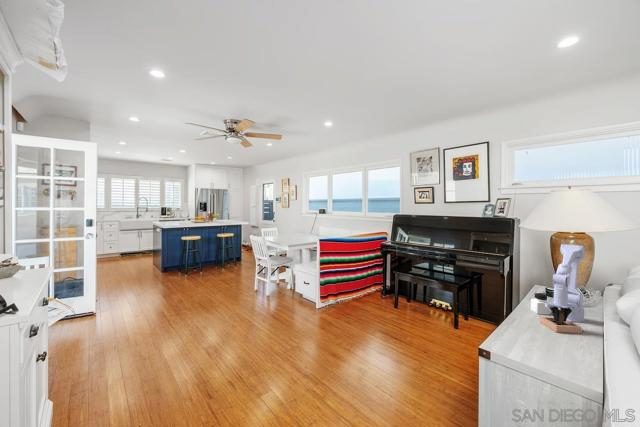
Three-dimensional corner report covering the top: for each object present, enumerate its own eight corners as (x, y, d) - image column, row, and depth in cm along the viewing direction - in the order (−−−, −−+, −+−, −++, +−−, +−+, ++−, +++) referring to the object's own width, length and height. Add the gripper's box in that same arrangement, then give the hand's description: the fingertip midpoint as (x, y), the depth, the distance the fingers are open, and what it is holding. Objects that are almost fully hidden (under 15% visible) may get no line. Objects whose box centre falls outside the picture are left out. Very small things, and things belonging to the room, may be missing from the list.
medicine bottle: (550, 315, 162) (551, 295, 162) (537, 314, 164) (537, 294, 164) (543, 310, 169) (543, 292, 169) (530, 309, 171) (531, 291, 171)
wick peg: (560, 323, 147) (560, 310, 146) (565, 325, 144) (565, 313, 143) (554, 323, 147) (554, 310, 147) (559, 325, 144) (559, 312, 144)
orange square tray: (562, 323, 151) (562, 317, 151) (581, 333, 139) (581, 327, 139) (539, 322, 152) (540, 316, 152) (556, 332, 140) (556, 326, 140)
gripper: (552, 298, 141) (551, 323, 142) (581, 299, 140) (580, 324, 140) (542, 293, 148) (541, 317, 149) (570, 294, 147) (569, 319, 147)
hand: (559, 320), depth 145 cm, fingers closed on wick peg, 3 cm apart
